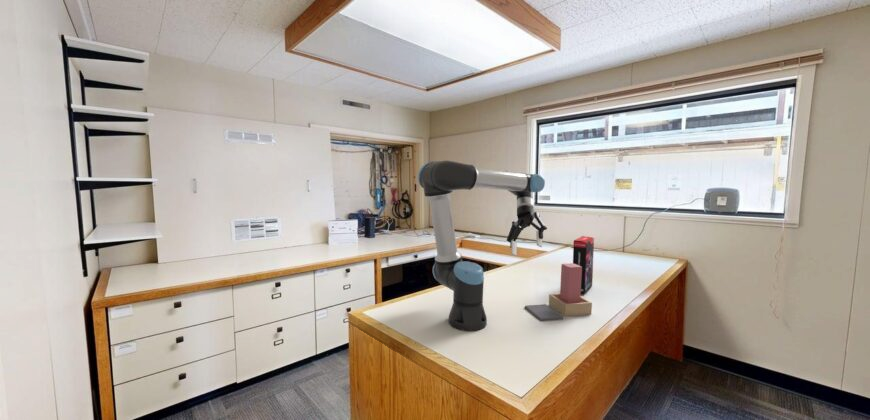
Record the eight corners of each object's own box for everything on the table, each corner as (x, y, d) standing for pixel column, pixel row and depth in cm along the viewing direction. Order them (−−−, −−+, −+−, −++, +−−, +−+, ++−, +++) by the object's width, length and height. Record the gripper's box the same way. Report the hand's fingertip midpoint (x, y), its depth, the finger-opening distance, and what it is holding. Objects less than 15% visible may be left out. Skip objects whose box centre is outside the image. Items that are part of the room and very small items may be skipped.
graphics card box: (584, 295, 164) (587, 241, 162) (570, 292, 168) (573, 239, 166) (592, 286, 178) (595, 237, 175) (578, 284, 182) (581, 235, 179)
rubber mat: (541, 321, 133) (541, 318, 133) (524, 307, 147) (524, 305, 147) (563, 319, 135) (563, 316, 135) (545, 306, 149) (545, 304, 149)
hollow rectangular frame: (565, 316, 138) (565, 304, 138) (548, 304, 151) (549, 294, 150) (591, 313, 141) (591, 302, 140) (573, 303, 153) (573, 292, 153)
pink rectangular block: (567, 312, 142) (569, 267, 140) (559, 307, 148) (561, 263, 146) (579, 311, 143) (582, 266, 142) (571, 306, 149) (573, 263, 147)
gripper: (553, 202, 144) (557, 245, 133) (510, 221, 162) (510, 260, 151) (542, 194, 141) (545, 238, 130) (499, 215, 159) (498, 255, 147)
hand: (526, 250), depth 140 cm, fingers open, 13 cm apart
